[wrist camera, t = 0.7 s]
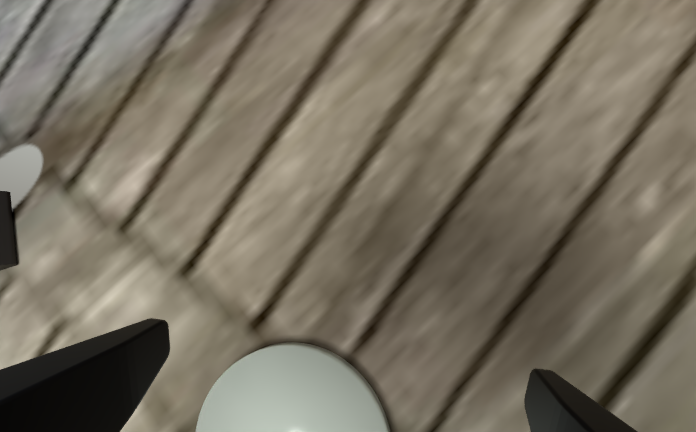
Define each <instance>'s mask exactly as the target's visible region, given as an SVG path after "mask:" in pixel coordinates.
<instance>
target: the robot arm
mask: <svg viewBox="0 0 696 432" xmlns="http://www.w3.org/2000/svg"><path fill="white" fill-rule="evenodd" d="M169 352H170V341H169V328H168V323H167V322H166V321H165V320H160V319H152V318H151V319H147V320H144V321H141V322H138V323H135V324H132V325H129V326H126V327H123V328H121V329H118V330H115V331H112V332H109V333H106V334H103V335H100V336H97V337H94V338H91V339H89V340H86V341H83V342H80V343H77V344H74V345H71V346H68V347H65V348H62V349H59V350H57V351H54V352H51V353H48V354H45V355H42V356H39V357H36V358H33V359H30V360H27V361H25V362H22V363H19V364H16V365H13V366H10V367H7V368H4V369H1V370H0V432H120V431H121V429H122V428H123V426H124V425H125V424H126V422H127V421H128V420H129V418H130V417H131V415H132V414H133V413H134V411H135V410H136V408H137V407H138V405H139V403H140V402H141V400H142V399H143V397H144V395H145V394H146V392H147V390H148V389H149V387H150V386H151V384H152V382H153V381H154V379H155V377H156V376H157V374H158V373H159V371H160V369H161V368H162V366H163V364H164V363H165V361H166V359H167V358H168V355H169ZM524 402H525V410H526V414H527V418H528V422H529V426H530V430H531V432H637V431H636V430H634V429H633V428H632V427H630V426H629V425H627V424H626V423H625V422H623V421H622V420H620V419H619V418H618V417H616V416H615V415H613V414H612V413H611V412H609V411H608V410H606V409H605V408H604V407H602V406H601V405H599V404H598V403H597V402H595V401H594V400H592V399H591V398H590V397H588V396H587V395H585V394H584V393H583V392H581V391H580V390H578V389H577V388H576V387H574V386H573V385H571V384H570V383H569V382H567V381H566V380H564V379H563V378H562V377H560V376H559V375H557V374H556V373H555V372H553V371H550V370H543V369H533V370H532V371H531V373H530V377H529V381H528V386H527V390H526V394H525V401H524Z"/></svg>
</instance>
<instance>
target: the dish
mask: <svg viewBox="0 0 696 432" xmlns="http://www.w3.org/2000/svg"><path fill="white" fill-rule="evenodd" d="M196 432H390V427H389V424H388V421H387V418H386V414H385V412H384V410H383V407H382V405H381V403H380V400H379V399H378V397H377V395H376V394H375V392H374V390H373V389H372V387H371V386H370V385H369V383H368V382H367V381H366V379H365V378H364V377H363V376H362V375H361V374H360V373H359V372H358V371H357V370H356V369H355V368H354V367H353V366H352V365H351V364H349V363H348V362H347V361H346V360H344V359H343V358H341V357H340V356H338V355H336V354H335V353H333V352H331V351H329V350H326V349H324V348H322V347H318V346H315V345H311V344H306V343H299V342H285V343H279V344H273V345H270V346H267V347H263V348H261V349H259V350H257V351H255V352H253V353H251V354H249V355H247V356H245V357H243V358H242V359H240V360H239V361H237V362H236V363H234V364H233V365H232V366H231V367H229V368H228V369H227V370H226V371H225V372H224V373H223V374H222V375H221V376H220V378H219V379H218V380H217V381H216V383H215V384H214V386H213V387H212V388H211V390H210V391H209V393H208V395H207V397H206V399H205V401H204V403H203V406H202V409H201V412H200V415H199V418H198V423H197V427H196Z"/></svg>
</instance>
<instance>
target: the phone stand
mask: <svg viewBox="0 0 696 432" xmlns="http://www.w3.org/2000/svg"><path fill="white" fill-rule="evenodd" d="M15 265H17V262H16V251H15V240H14V229H13V218H12V207H11V196H10V192H7V191H0V270H3V269H6V268H9V267H12V266H15Z"/></svg>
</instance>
